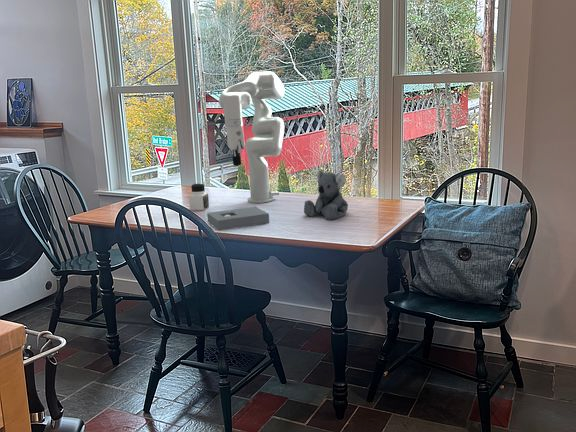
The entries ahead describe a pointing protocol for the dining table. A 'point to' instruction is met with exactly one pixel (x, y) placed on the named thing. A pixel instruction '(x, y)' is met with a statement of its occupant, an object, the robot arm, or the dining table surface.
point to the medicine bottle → (198, 197)
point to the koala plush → (328, 197)
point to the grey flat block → (238, 218)
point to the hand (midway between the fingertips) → (237, 164)
